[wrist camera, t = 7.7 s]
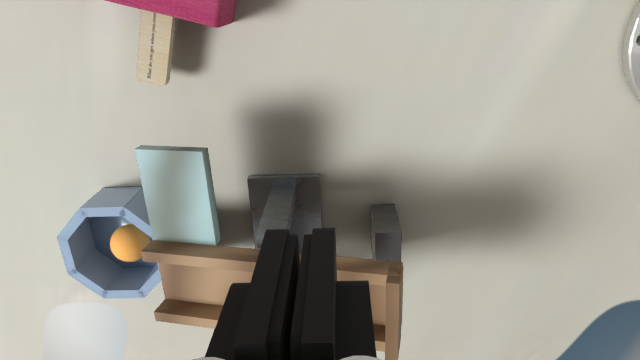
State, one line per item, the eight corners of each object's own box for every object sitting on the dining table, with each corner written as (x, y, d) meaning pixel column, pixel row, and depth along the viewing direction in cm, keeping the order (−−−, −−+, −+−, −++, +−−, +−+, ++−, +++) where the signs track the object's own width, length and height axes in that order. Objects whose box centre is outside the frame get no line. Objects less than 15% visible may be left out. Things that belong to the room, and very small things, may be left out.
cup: (172, 185, 41) (155, 206, 37) (187, 270, 44) (173, 297, 40) (74, 188, 41) (48, 208, 37) (97, 272, 44) (75, 298, 41)
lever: (406, 155, 28) (401, 174, 25) (401, 329, 33) (397, 362, 30) (141, 145, 33) (111, 161, 30) (172, 301, 38) (150, 327, 35)
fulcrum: (394, 171, 39) (410, 221, 31) (393, 273, 43) (406, 342, 35) (175, 178, 40) (133, 228, 32) (192, 277, 44) (159, 345, 36)
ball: (131, 237, 38) (97, 233, 39) (139, 270, 39) (106, 266, 40) (154, 219, 41) (122, 216, 42) (160, 251, 42) (129, 247, 43)
